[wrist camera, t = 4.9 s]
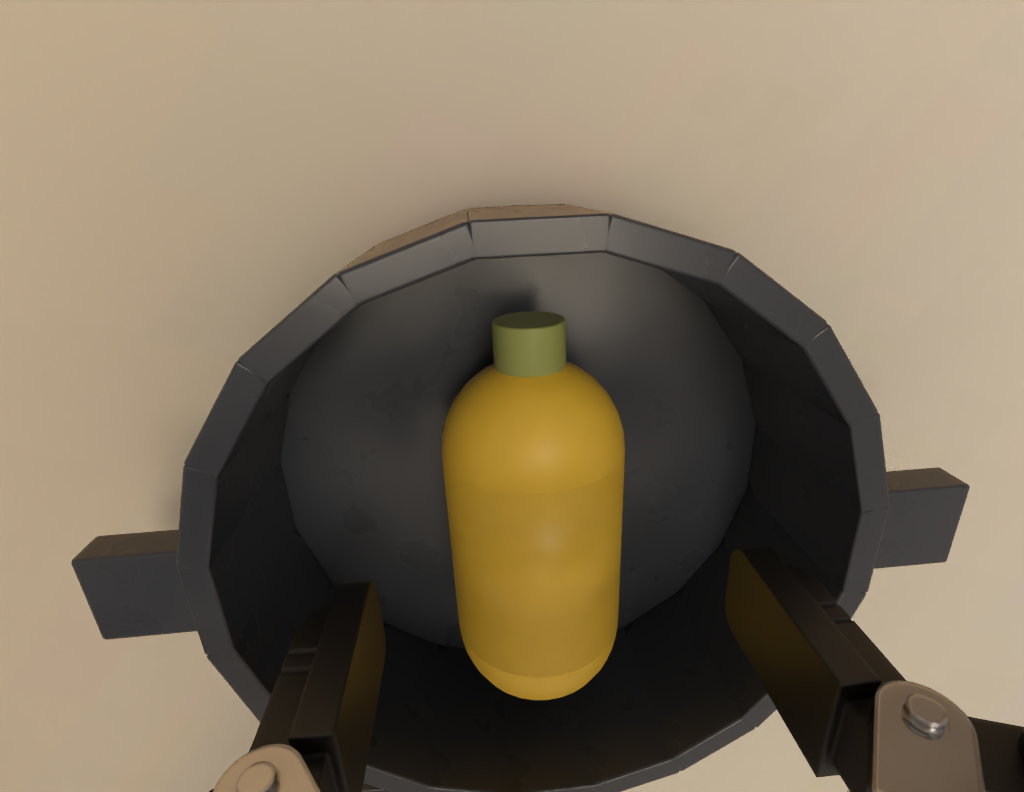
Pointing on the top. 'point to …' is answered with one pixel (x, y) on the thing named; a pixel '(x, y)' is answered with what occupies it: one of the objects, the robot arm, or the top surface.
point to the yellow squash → (535, 512)
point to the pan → (423, 507)
